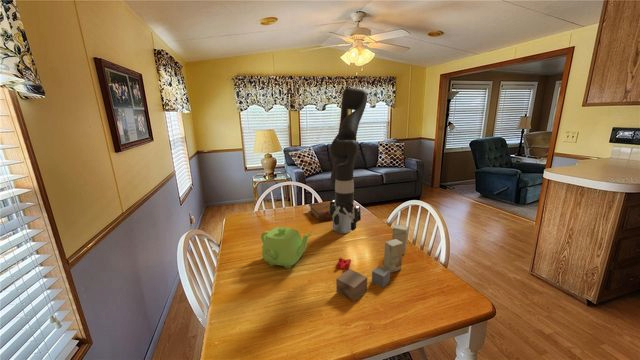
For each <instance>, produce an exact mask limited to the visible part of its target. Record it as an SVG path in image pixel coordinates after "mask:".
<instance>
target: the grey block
mask: <svg viewBox="0 0 640 360" xmlns="http://www.w3.org/2000/svg"><path fill="white" fill-rule="evenodd" d="M390 281H391V273H390V270H388V269H386V268H384V266H381V265H378V266H377V267H376V268H374V269H372V271H371V283H372V284H374V285H376V286H379V287H381V288H383V289H384V288H385V286H387V285H388V284H389V283H390Z"/></svg>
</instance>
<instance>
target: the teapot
mask: <svg viewBox="0 0 640 360" xmlns="http://www.w3.org/2000/svg"><path fill="white" fill-rule="evenodd" d="M312 235H313V234H312V233H306V234H303V237H302V236H301V234H300V232H299V230H298V229H296V228H290V227H285V226H278V227H274V228H273V229H271V230H270V231H269V230H266V231H265V230H264V231H263V232H262V233H261V235H260V238H261V242H262V243H263V244H262V245H261V248H262V251H261V255H262V258H263V260H265V262H266V263H268V265H269V266H270V265H271V267H274V266H281V267H284V269H287V270H289V269H291V268H293V266H294V265H295V264H297V262H298V261H299V260H300V258H301V257H302V255H303V254H304V253H305V251H306V250H307V247H308V238H309V237H311V236H312Z"/></svg>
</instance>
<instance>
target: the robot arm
mask: <svg viewBox="0 0 640 360" xmlns="http://www.w3.org/2000/svg"><path fill="white" fill-rule="evenodd" d="M341 98H342V100H341V107H340V108H341V109H340V120H339V128H338V133H337V135H336V136H335V137H334V139H333V140H332V142H331V144H330V147H329V148H330V149H329V150H330V151H329V152H330V154H331V156H332V157H333V158H334V160H333V164H332V169H331V174H330V178H329V179H330V181H329V182H330V183H329V184H330V187H331V188H332V190H334V193H335V194H334V195H333V199H332V200H329V201H330V214H332V215H333V219H332V230H333V231H334V232H335V233H337V234H343V235H344V234H349V233H350V232H351V231H352V232H354V231H355V230H356V229H357V223H358V222H360V221H362V218H361V217H362V216H361V214H362V213H361V206H360V205H358V206H355V205H354V202H355V183H354V167H355V162H356V158H357V155H358V152H359V144H358V142H357V139H358V137H357V135H358V129H359V126H360V122H361V120H362V117H363V115H364V112H365V109H366V107H367V102H368V92H367V91H366V90H365V89H359V88H352V87H345V88H344V90H343V93H342V97H341ZM349 110H352V112H351V113H350V114H349Z"/></svg>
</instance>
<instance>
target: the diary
mask: <svg viewBox="0 0 640 360" xmlns="http://www.w3.org/2000/svg"><path fill="white" fill-rule="evenodd" d="M330 201H331V200H329V201H322V202H315V203H309V205H308V206H309V207H310V210H309V214H311V215H312V216H313V217H314V218H315V220H316V221H317V222H318V223H320V222H325V221H333V215H332V214H330Z"/></svg>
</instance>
